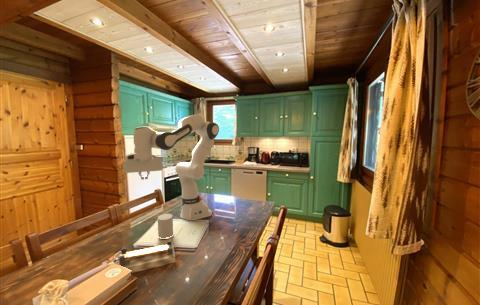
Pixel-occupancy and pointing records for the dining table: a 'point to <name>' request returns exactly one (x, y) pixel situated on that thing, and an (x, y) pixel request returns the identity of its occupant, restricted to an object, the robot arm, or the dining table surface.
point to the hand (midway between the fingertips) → (144, 179)
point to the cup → (165, 225)
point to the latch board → (148, 259)
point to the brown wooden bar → (146, 251)
